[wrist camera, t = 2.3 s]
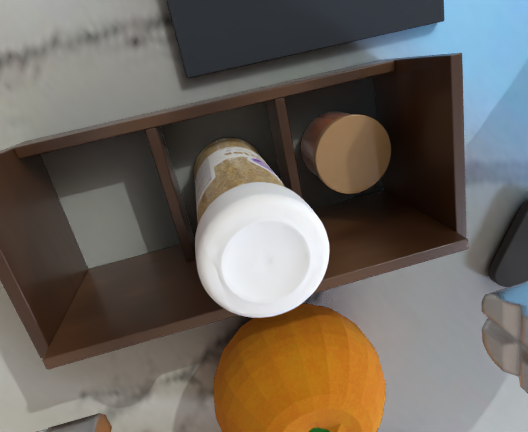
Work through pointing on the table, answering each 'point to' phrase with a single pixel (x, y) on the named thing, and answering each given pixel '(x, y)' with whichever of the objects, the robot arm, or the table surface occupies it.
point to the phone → (513, 253)
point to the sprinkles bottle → (254, 234)
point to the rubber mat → (284, 27)
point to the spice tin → (346, 151)
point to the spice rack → (183, 256)
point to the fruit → (299, 375)
